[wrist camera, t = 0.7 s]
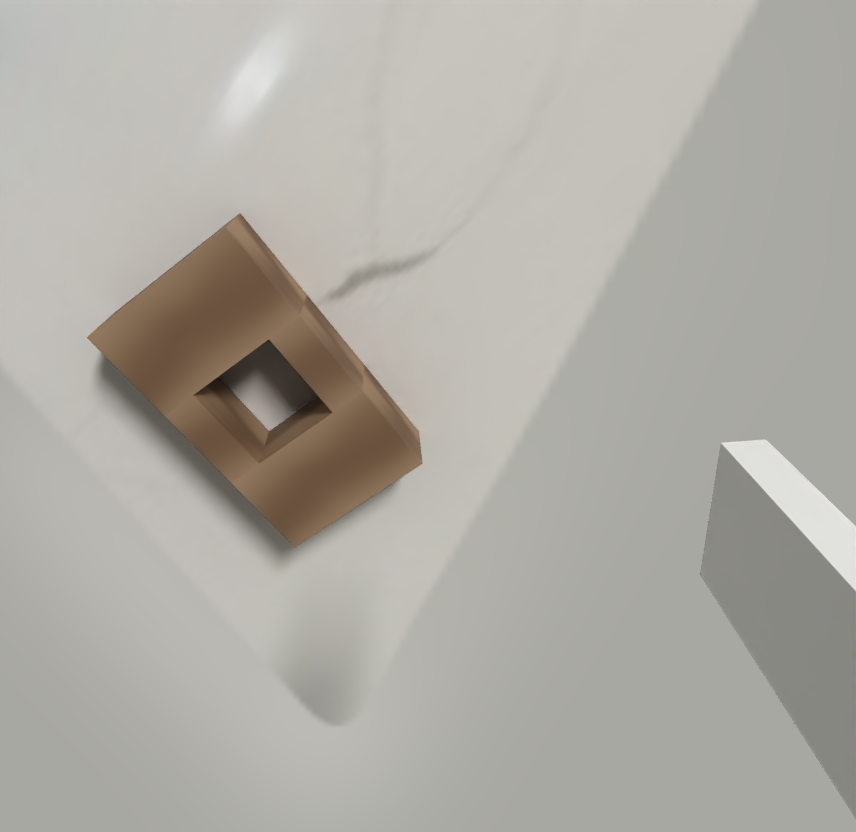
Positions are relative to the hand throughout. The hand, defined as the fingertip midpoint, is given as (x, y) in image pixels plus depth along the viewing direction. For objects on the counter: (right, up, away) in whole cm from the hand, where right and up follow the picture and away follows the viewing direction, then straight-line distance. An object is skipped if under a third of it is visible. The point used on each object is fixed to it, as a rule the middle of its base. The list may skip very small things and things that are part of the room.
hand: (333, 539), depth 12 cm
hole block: (-6, +4, +24) cm, 25 cm away
